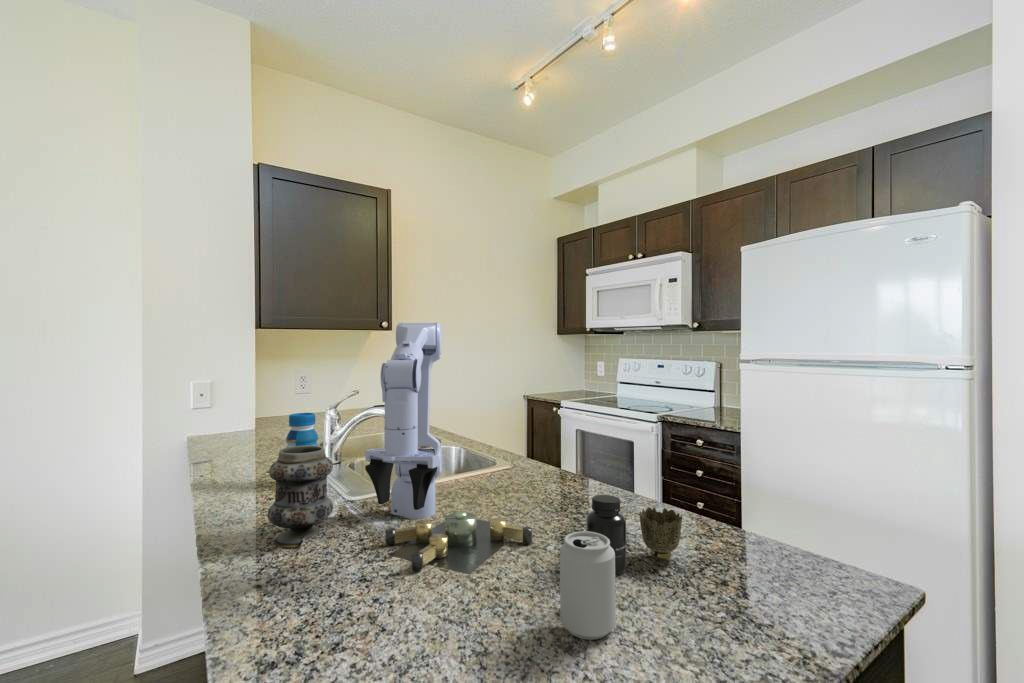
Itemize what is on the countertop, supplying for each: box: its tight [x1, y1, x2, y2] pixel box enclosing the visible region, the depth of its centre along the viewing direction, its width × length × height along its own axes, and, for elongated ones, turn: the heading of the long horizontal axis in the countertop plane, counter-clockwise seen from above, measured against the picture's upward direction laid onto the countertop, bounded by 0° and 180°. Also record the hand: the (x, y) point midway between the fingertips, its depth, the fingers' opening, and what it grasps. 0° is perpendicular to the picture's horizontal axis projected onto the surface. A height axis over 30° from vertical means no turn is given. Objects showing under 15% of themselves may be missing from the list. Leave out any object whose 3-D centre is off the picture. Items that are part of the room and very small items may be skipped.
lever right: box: [489, 517, 533, 544], centre depth 91 cm, size 9×3×3 cm, turn 64°
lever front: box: [411, 534, 448, 572], centre depth 82 cm, size 9×3×3 cm, turn 155°
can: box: [559, 530, 617, 641], centre depth 65 cm, size 8×8×12 cm
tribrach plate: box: [388, 510, 525, 575], centre depth 91 cm, size 17×22×6 cm
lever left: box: [385, 519, 433, 546], centre depth 90 cm, size 9×3×3 cm, turn 110°
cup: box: [638, 507, 683, 562], centre depth 86 cm, size 8×7×8 cm
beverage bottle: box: [285, 412, 319, 448], centre depth 132 cm, size 8×8×20 cm
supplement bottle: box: [585, 494, 627, 577], centre depth 82 cm, size 7×7×12 cm
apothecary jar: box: [267, 445, 334, 549], centre depth 96 cm, size 12×12×18 cm
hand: (401, 505), depth 83 cm, fingers open, 7 cm apart
